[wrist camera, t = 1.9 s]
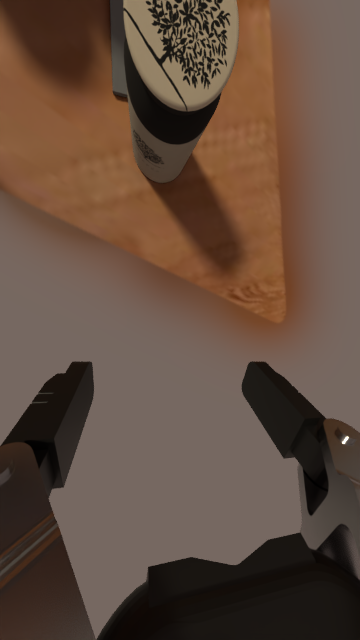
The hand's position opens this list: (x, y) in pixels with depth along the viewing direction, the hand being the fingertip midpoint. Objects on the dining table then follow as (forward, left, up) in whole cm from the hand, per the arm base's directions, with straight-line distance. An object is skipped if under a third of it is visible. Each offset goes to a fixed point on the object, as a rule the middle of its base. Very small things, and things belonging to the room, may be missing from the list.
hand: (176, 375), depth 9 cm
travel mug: (+1, +19, -28) cm, 34 cm away
